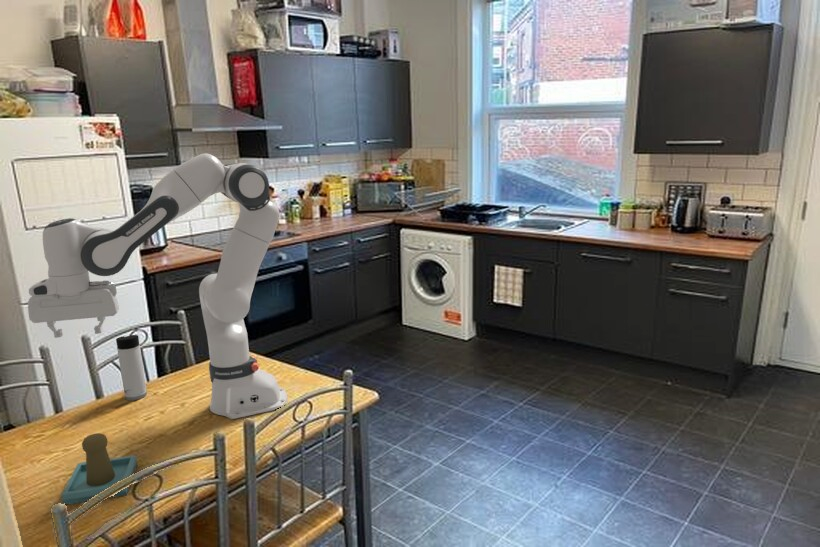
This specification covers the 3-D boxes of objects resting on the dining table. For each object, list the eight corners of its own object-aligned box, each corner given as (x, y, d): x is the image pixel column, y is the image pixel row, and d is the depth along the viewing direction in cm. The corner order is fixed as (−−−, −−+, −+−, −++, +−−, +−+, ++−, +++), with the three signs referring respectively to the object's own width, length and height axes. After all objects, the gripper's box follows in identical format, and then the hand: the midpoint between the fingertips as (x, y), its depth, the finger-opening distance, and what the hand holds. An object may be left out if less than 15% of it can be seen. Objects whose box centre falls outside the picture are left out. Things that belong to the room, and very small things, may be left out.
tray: (137, 464, 147) (135, 455, 146) (126, 495, 134) (125, 485, 134) (79, 472, 144) (77, 463, 143) (63, 505, 131) (61, 495, 131)
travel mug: (124, 402, 180) (114, 340, 175) (125, 394, 186) (115, 334, 181) (147, 398, 182) (138, 337, 177) (146, 390, 188) (138, 330, 183)
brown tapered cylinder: (103, 487, 135) (95, 444, 133) (80, 484, 137) (72, 442, 134) (120, 472, 141) (114, 431, 138) (98, 470, 142) (91, 428, 140)
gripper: (117, 276, 155) (124, 326, 159) (30, 283, 151) (39, 334, 154) (112, 282, 150) (119, 334, 153) (21, 290, 145) (31, 343, 148)
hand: (79, 334), depth 153 cm, fingers open, 8 cm apart
